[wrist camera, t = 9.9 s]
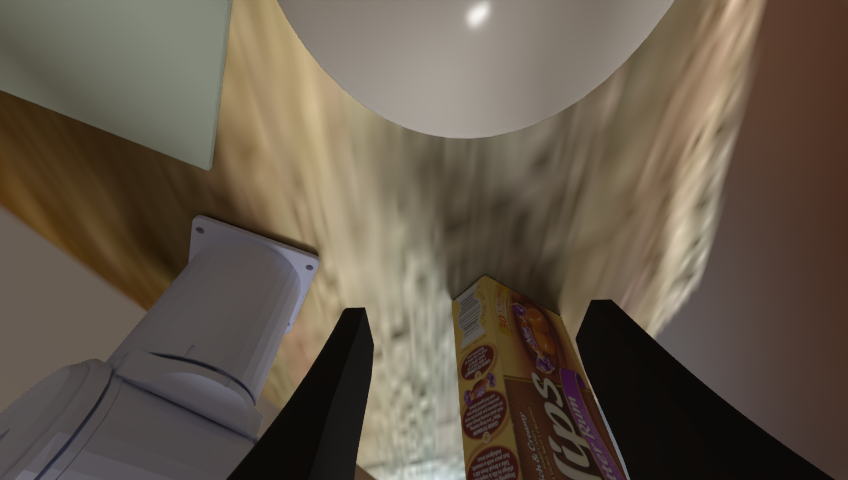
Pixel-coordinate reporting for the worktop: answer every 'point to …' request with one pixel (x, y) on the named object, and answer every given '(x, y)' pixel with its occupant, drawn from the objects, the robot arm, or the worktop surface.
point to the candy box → (524, 393)
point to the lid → (471, 56)
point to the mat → (122, 67)
